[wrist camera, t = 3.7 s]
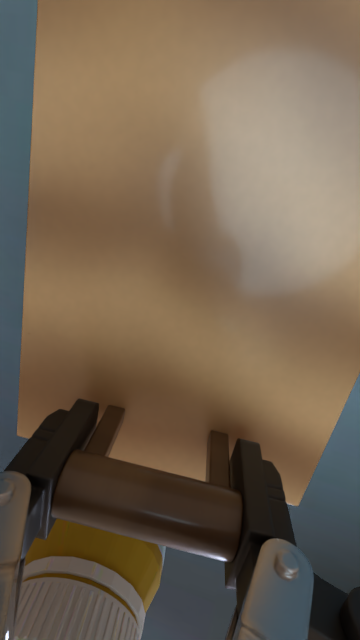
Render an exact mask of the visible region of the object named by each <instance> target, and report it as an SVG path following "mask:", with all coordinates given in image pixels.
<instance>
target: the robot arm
mask: <svg viewBox="0 0 360 640" xmlns="http://www.w3.org/2000/svg"><path fill="white" fill-rule="evenodd" d="M98 411H99V403H96V402H92V401H88V400H84V399H80V398H79V399H77V400H76V402H75V403H74V405H73V406H72V408H71V409H70V410H69V411H67V410H63V409H58V410H57V411H55V412H53V413H52V414H50V415H48V416H47V417H46V418H45V419H44V421H43V422H42V423H41V424H40V426H39V428H38V429H37V430H36V431H35V432H34V433H33V435H32V437H30V438H29V440H28V441H27V442H26V443H25V445H24V446H23V447H22V449H21V450H20V451H19V452H18V454H17V455H16V456H15V457H14V459H13V460H12V461H11V462H10V464H9V465H8V466H7V468H6V469H5V470H4V471H3V472H0V640H13V639H14V632H15V626H16V619H17V613H18V606H19V600H20V593H21V587H22V581H23V574H24V568H25V561H26V554H27V552H28V550H29V548H30V547H31V545H32V543H33V541H34V539H35V537H36V538H39V539H43V540H46V539H47V537H48V535H49V533H50V531H51V529H52V527H53V525H54V523H55V521H56V519H57V518H54V517H52V516H51V503H52V498H53V494H54V490H55V487H56V484H57V481H58V478H59V476H60V473H61V471H62V468H63V466H64V464H65V462H66V460H67V459H68V457H69V455H70V454H71V453H72V451H74V450H76V449H78V450H82V451H84V449H85V448H86V446H87V444H88V442H89V440H90V438H91V436H92V435H93V433H94V431H95V429H96V424H97V418H98ZM230 481H231V488H233V489H237V490H239V491H240V492H241V495H242V500H243V523H242V532H241V538H240V543H239V547H238V551H237V554H236V556H235V558H234V560H233V561H232V562H230V563H228V562H225V588H229V589H233V590H236V594H237V605H236V607H235V609H234V612H233V615H232V618H231V621H230V624H229V627H228V631H227V634H226V637H225V640H360V587H356V588H354V589H353V590H351V592H350V593H349V595H348V594H346V593H345V592H343V591H341V590H340V589H338V588H336V587H334V586H333V585H331V584H329V583H328V582H326V581H324V580H323V579H321V578H320V577H319V576H317V575H316V574H315V573H314V572H313V570H312V567H311V565H310V563H309V561H308V559H307V558H306V556H305V555H304V554H303V553H302V552H301V551H300V550H299V549H298V548H297V546H296V542H295V538H294V533H293V529H292V524H291V520H290V516H289V511H288V507H287V502H286V498H285V493H284V491H283V485H282V480H281V476H280V474H279V472H278V471H277V469H276V467H275V466H274V464H273V463H272V462H271V461H267V460H263V459H262V454H261V448H260V444H259V443H257V442H253V441H249V440H245V439H240V438H238V439H237V441H236V443H235V446H234V449H233V452H232V455H231V458H230Z"/></svg>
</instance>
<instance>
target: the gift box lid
mask: <svg viewBox="0 0 360 640" xmlns="http://www.w3.org/2000/svg"><path fill="white" fill-rule="evenodd" d="M359 373H360V0H38V9H37V29H36V50H35V71H34V91H33V112H32V133H31V154H30V174H29V195H28V216H27V236H26V257H25V278H24V298H23V319H22V340H21V361H20V381H19V402H18V423H17V436H21V437H25V438H30V437H32V435H33V433H34V432H35V431H36V430H37V429H38V428H39V426H40V424H41V423H42V422H43V421H44V419H45V418H46V417H47V416H48V415H50V414H52V413H53V412H55V411H57V410H58V409H63V410H67V411H69V410H70V409H71V408H72V406H73V405H74V403H75V402H76V400H77V399H79V398H80V399H84V400H88V401H92V402H96V403H99V411H98V418H97V424H96V429H95V431H94V433H93V435H92V436H91V438H90V440H89V442H88V444H87V446H86V448H85V449H84V451H82V450H78V449H76V450H74V451H72V453H71V454H70V455H69V457H68V459H67V460H66V462H65V464H64V466H63V468H62V471H61V473H60V476H59V478H58V481H57V484H56V487H55V490H54V494H53V498H52V503H51V516H52V517H54V518H57V519H61V520H65V521H69V522H73V523H77V524H81V525H84V526H88V527H92V528H96V529H100V530H104V531H108V532H112V533H115V534H119V535H123V536H127V537H131V538H135V539H139V540H143V541H146V542H150V543H154V544H158V545H162V546H166V547H170V548H174V549H177V550H181V551H185V552H189V553H193V554H197V555H201V556H205V557H208V558H212V559H216V560H220V561H224V562H228V563H230V562H232V561H233V560H234V558H235V556H236V554H237V551H238V547H239V543H240V538H241V532H242V523H243V500H242V495H241V492H240V491H239V490H237V489H233V488H231V481H230V458H231V455H232V452H233V449H234V446H235V443H236V441H237V439H238V438H240V439H245V440H249V441H253V442H257V443H259V444H260V448H261V454H262V459H263V460H267V461H271V462H272V463H273V464H274V466H275V467H276V469H277V471H278V472H279V474H280V476H281V480H282V485H283V491H284V493H285V498H286V502H287V504H291V505H295V506H298V505H299V503H300V501H301V499H302V497H303V494H304V492H305V490H306V488H307V486H308V484H309V481H310V479H311V477H312V475H313V473H314V471H315V468H316V466H317V464H318V462H319V460H320V458H321V455H322V453H323V451H324V449H325V447H326V445H327V442H328V440H329V438H330V436H331V434H332V432H333V429H334V427H335V425H336V423H337V421H338V419H339V416H340V414H341V412H342V410H343V408H344V405H345V403H346V401H347V399H348V397H349V395H350V392H351V390H352V388H353V386H354V384H355V382H356V379H357V377H358V375H359Z"/></svg>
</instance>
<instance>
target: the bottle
mask: <svg viewBox="0 0 360 640" xmlns="http://www.w3.org/2000/svg"><path fill="white" fill-rule="evenodd" d="M165 549H166V546H162V545H158V544H154V543H150V542H146V541H143V540H139V539H135V538H131V537H127V536H123V535H119V534H115V533H112V532H108V531H104V530H100V529H96V528H92V527H88V526H84V525H81V524H77V523H73V522H69V521H65V520H61V519H56V521H55V523H54V525H53V527H52V529H51V531H50V533H49V535H48V537H47V539H46V540H43V539H39V538H36V537H35V539H34V541H33V543H32V545H31V547H30V548H29V550H28V552H27V554H26V561H25V568H24V574H23V581H22V587H21V593H20V600H19V606H18V613H17V619H16V626H15V632H14V639H13V640H140V639H141V635H142V631H143V625H144V620H145V613H146V611H147V609H148V607H149V605H150V603H151V601H152V599H153V597H154V595H155V593H156V591H157V590H158V588H159V584H160V579H161V574H162V569H163V563H164V556H165Z"/></svg>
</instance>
